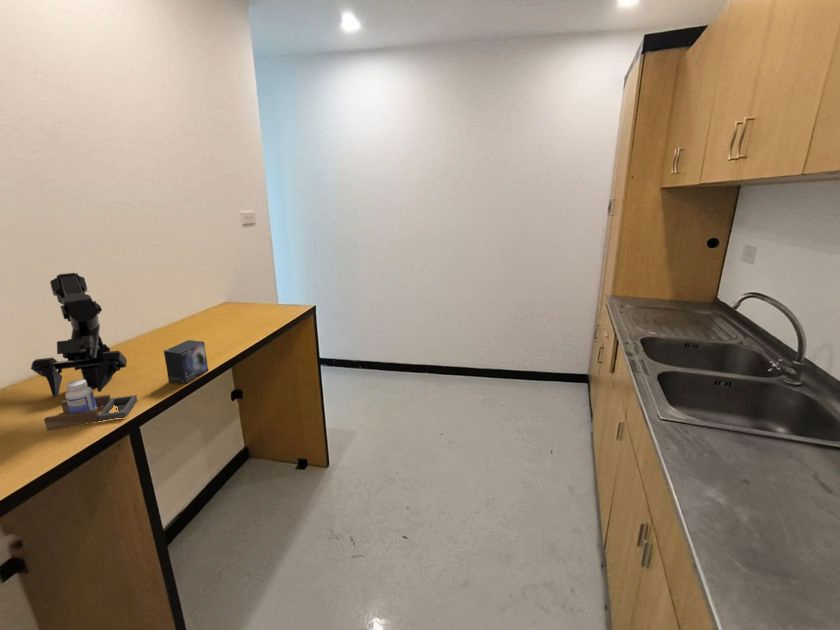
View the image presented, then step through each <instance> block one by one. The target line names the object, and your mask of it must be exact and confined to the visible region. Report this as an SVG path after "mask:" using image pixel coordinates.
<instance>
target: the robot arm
mask: <svg viewBox="0 0 840 630" xmlns="http://www.w3.org/2000/svg"><path fill="white" fill-rule="evenodd" d="M49 283H50V287H51V291H52V295H53V296H54V297H55V296H56V299H57V301H58V303H60V304H62V305H60V311H61V314H62V317H63V319H64V320H67V322H70V325H71V327H72V330H71V337H70V339H69V338H68V340H58V341H56V354H57V355H62V358H63V359H67V360H62V361H58V360H57V359H55V358H54V357H46V358H45V357H44V358H36V359H34V360H33V361H32V362H31V365H30V369H31V370H32V371H33V372H34V373H36V374H38V375H40V376H41V377H44V378H46V380H47V382H48V385H49V388H50V392H51V394H52V397H53V398H54V399H55V398H57V397H59V393H60V389H61V384H62V380H63V375H61V373H62V372H63V370H64V369H71V368H72V369H74V370H75V371H79V370H80V373H81V375H82V379H84V380H86V382H87V387H90V388H95V387H96V388H97V390H96V391H97V392H99V393H100V392H102V391H103V389H104V387H105V386H107V384H108V383H109V382H110V381H111V379H112V378H113V376H114V375H115V374H116V372H118V371H121V369H122V368H126V367H127V364H128V363H127V362H128V361H127V357H125V355H124V354H123V353H122V352H120V350H112V351H111V348H110V347H108V346H107V344H106V343H103V340H102V338H101V336H100V328H101V324H100V323H99V314H101V313H102V311H103V310H102V309H103V308H102V306H101V305H100V304H99V303H97V302H96V300H93V299H92V297H91V295H89V294H86V292H88V285H87V282H86V278H85V277H84V276H80V275H79V274H78V272H77V273H76V272H69V273H59V274H58V275H56V278H54V279H52V280H50V281H49Z"/></svg>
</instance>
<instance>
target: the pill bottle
mask: <svg viewBox="0 0 840 630" xmlns="http://www.w3.org/2000/svg"><path fill="white" fill-rule="evenodd" d="M65 387H66V390H67V392H65V395H64V396H65V400H66V401H67V404H68V408H69V411H70V412H69V414H72V413H79V412H86V411H93V410H98V408H97V407H96V403H95V399H94V397H95V396H94V392H93V389H92V387H87V382H86V380H84V379H83V378H82V379H75V380H71V381H69V382H67V383H66V384H65Z"/></svg>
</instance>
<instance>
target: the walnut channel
mask: <svg viewBox="0 0 840 630" xmlns="http://www.w3.org/2000/svg"><path fill="white" fill-rule="evenodd" d="M94 399H95V403H96V407H102V406H106V405H107V404H108V402H109V401H110V400H111V394H104V395H103V394H102V395H95V396H94ZM60 404H61V405H60V406H61V409H62V412H63V413H64V412H67V414H65V413H64V414H60V415H53V416H52V415H51V416H46V417H45V418H44V419H43V422H44V424H45V428H46V431H52V430H53V431H54V430H58V429H59V428H60V429H66V428H71V427H70V426H73V427H76V426H75V425H80V426H82V425H81V424H86V423H93V422H98V421H99V419H98V415H99V414H100V413H99V411H98V409H97V410H93V411H86V412H79V413H72V414H70V411H69V408H68V404H67V401H66V399H65V400H62V401H61V402H60ZM102 408H103V407H102ZM98 423H99V422H98ZM93 424H94V423H93ZM86 425H87V424H86ZM65 427H66V428H65Z"/></svg>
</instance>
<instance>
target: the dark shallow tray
mask: <svg viewBox="0 0 840 630" xmlns="http://www.w3.org/2000/svg"><path fill="white" fill-rule="evenodd" d="M136 401H137V402H138V397H137V394H134V395H126V396H119V397H112V398H111V400H110V401H109V402H108V404H107V405H106V406H105V407H103V409H102V410H101V411H100V413H98V414H99V415H98V419H99V421H103V420H109V419H115V418H124V417H126V416H127V415H128V414H129V415H130V413H131V412H130V411H132V410H133V409H134V407H135V405H136V404H137V402H136ZM135 403H136V404H135ZM134 404H135V405H134ZM114 405H115V406H117V407H118V411H119V412H114V413H109V411H110V410H111V409H112V408H113V406H114ZM133 406H134V407H133ZM131 409H132V410H131ZM116 410H117V408H116ZM121 410H122V411H121ZM129 412H130V413H129ZM129 415H128V416H129ZM128 416H127V417H128Z"/></svg>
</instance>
